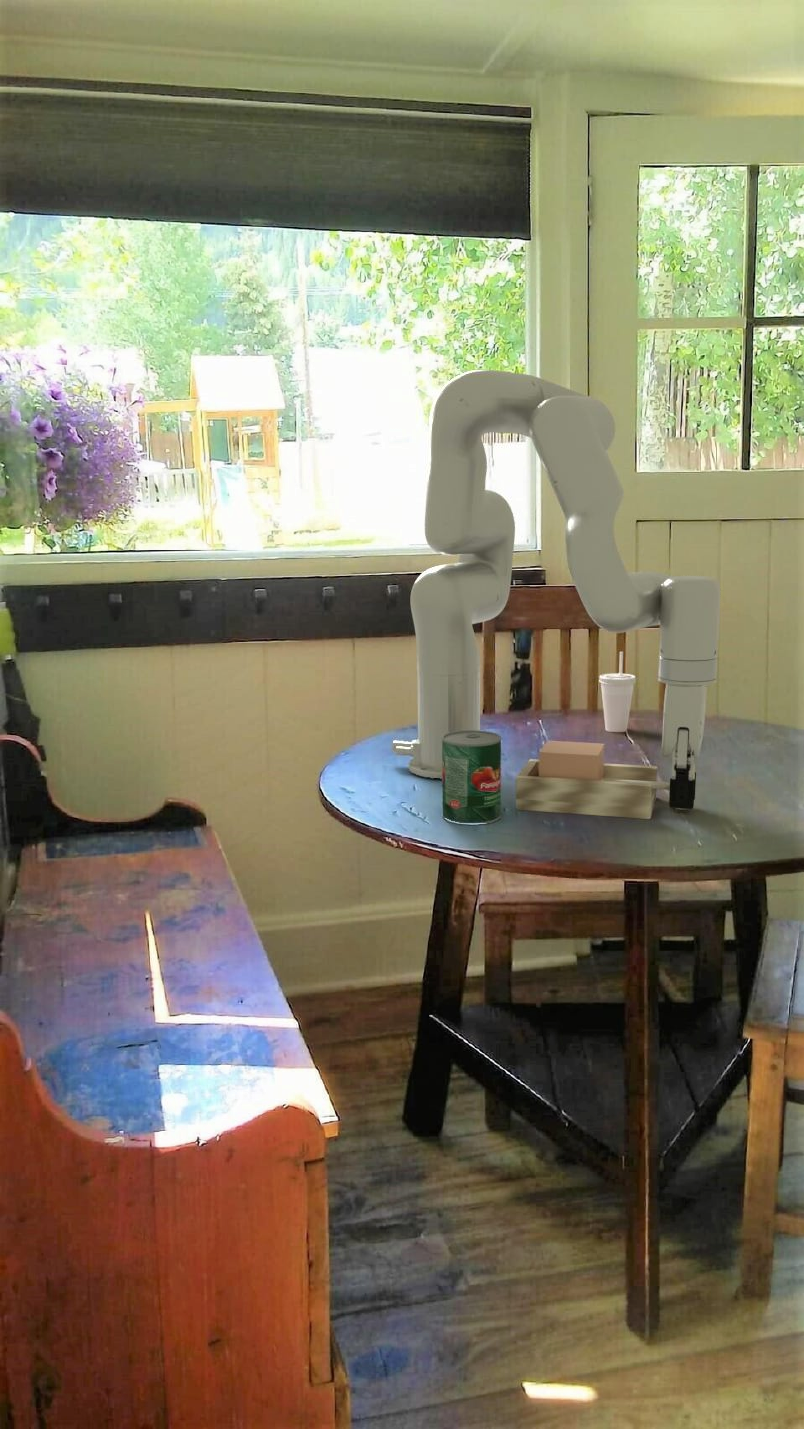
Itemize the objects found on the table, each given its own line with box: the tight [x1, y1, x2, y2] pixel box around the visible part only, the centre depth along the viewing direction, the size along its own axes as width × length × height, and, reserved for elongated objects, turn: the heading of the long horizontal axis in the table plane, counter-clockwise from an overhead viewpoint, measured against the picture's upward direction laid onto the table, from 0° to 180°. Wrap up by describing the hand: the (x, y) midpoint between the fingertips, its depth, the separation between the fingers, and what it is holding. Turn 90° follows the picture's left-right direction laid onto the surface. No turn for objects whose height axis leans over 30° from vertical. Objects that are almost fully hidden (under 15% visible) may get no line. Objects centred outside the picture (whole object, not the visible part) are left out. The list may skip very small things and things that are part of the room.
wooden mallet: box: [538, 740, 696, 811], centre depth 157 cm, size 20×7×7 cm, turn 74°
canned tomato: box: [441, 730, 502, 824], centre depth 153 cm, size 8×8×11 cm
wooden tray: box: [515, 758, 658, 820], centre depth 159 cm, size 18×11×4 cm, turn 74°
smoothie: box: [598, 651, 637, 733], centre depth 202 cm, size 6×6×14 cm
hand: (682, 802), depth 155 cm, fingers closed on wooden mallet, 3 cm apart
